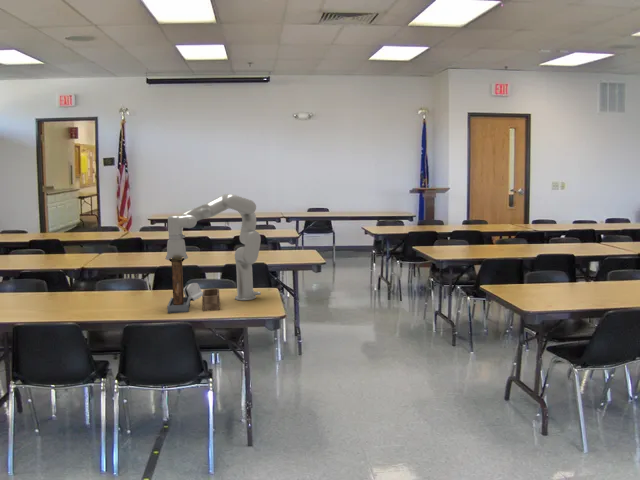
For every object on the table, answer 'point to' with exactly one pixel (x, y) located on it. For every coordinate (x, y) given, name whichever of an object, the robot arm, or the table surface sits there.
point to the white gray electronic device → (193, 291)
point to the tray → (179, 306)
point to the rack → (211, 299)
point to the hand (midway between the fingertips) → (177, 269)
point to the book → (177, 281)
